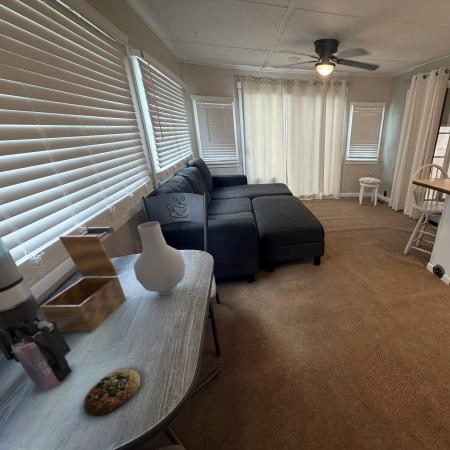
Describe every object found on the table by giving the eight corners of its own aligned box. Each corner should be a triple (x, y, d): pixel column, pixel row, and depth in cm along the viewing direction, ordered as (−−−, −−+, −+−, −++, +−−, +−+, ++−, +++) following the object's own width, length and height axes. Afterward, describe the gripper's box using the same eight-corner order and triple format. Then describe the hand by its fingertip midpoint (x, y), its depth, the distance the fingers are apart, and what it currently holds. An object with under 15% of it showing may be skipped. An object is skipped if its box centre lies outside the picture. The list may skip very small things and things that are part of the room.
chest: (92, 333, 75) (79, 306, 71) (53, 334, 75) (38, 307, 71) (126, 300, 90) (117, 276, 85) (94, 301, 90) (83, 276, 86)
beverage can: (70, 366, 65) (46, 323, 59) (71, 381, 61) (46, 337, 55) (39, 381, 61) (11, 337, 55) (38, 398, 57) (8, 353, 51)
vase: (148, 310, 84) (123, 239, 74) (139, 289, 96) (117, 225, 85) (195, 290, 94) (180, 224, 84) (182, 273, 106) (167, 213, 95)
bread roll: (76, 429, 51) (70, 410, 49) (96, 386, 61) (91, 370, 59) (137, 407, 55) (133, 389, 54) (147, 370, 65) (143, 355, 63)
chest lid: (96, 236, 77) (117, 222, 86) (58, 237, 77) (83, 223, 86) (116, 276, 85) (133, 259, 93) (82, 276, 85) (102, 260, 94)
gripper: (-59, 316, 48) (-2, 391, 57) (31, 315, 48) (76, 391, 56) (-13, 292, 55) (32, 362, 64) (66, 291, 55) (101, 362, 63)
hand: (52, 376), depth 60 cm, fingers closed on beverage can, 6 cm apart
